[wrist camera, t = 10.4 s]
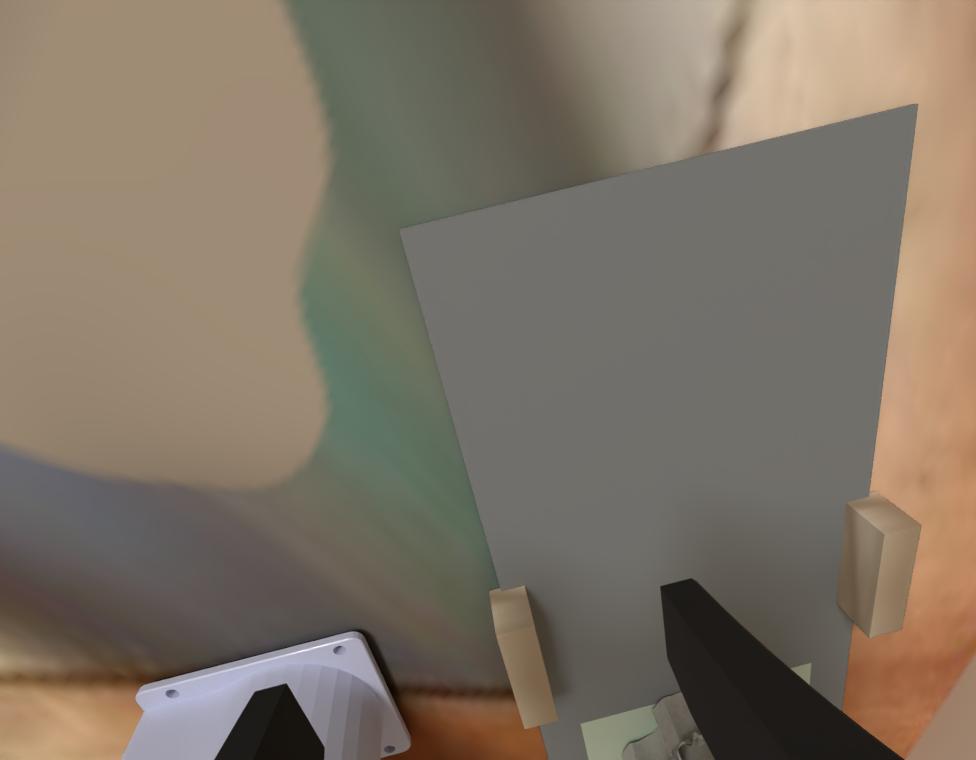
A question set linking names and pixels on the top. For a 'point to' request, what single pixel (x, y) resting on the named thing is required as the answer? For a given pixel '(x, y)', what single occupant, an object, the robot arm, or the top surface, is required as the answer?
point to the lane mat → (673, 400)
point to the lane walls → (860, 593)
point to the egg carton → (671, 735)
